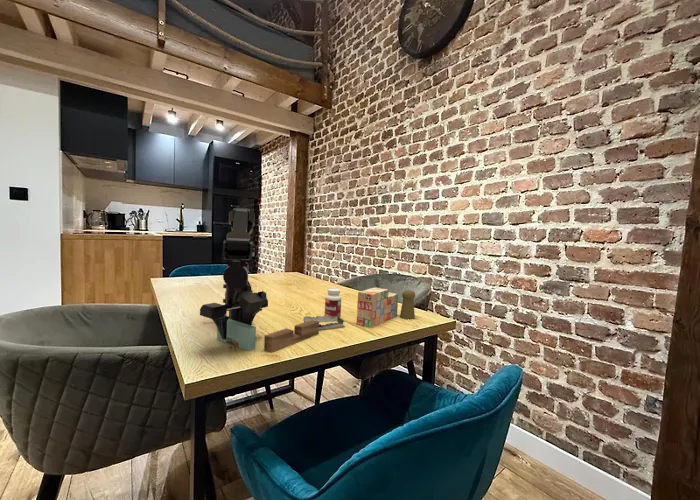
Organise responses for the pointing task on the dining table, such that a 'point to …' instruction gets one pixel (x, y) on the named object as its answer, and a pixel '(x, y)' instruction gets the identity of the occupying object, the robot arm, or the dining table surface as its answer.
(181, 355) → the dining table surface
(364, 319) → the stack of blocks
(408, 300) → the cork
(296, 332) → the walnut board
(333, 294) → the pill bottle
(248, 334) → the teal plate
